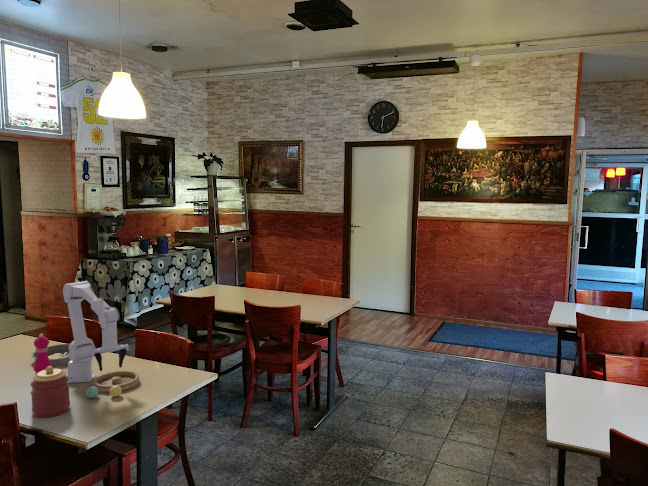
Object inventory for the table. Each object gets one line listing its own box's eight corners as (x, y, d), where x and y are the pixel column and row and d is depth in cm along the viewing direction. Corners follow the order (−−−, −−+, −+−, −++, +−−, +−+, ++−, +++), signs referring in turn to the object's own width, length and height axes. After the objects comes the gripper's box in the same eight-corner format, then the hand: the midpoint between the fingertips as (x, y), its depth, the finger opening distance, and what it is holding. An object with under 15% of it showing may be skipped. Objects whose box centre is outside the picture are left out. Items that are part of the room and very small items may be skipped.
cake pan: (20, 362, 242) (20, 353, 242) (67, 349, 264) (66, 340, 264) (52, 371, 231) (51, 362, 231) (97, 356, 253) (97, 348, 252)
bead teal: (85, 400, 199) (84, 389, 199) (88, 395, 204) (88, 385, 203) (97, 399, 200) (96, 388, 199) (100, 395, 204) (99, 384, 204)
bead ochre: (108, 399, 201) (108, 388, 200) (111, 394, 205) (111, 383, 205) (120, 398, 201) (120, 387, 201) (123, 393, 206) (122, 383, 205)
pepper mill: (55, 374, 227) (53, 331, 225) (45, 379, 220) (43, 336, 218) (41, 373, 228) (39, 331, 226) (30, 379, 221) (28, 335, 219)
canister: (61, 400, 199) (59, 358, 197) (76, 409, 190) (74, 365, 189) (26, 411, 189) (23, 366, 187) (40, 421, 180) (37, 375, 179)
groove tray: (87, 393, 206) (87, 387, 205) (100, 377, 224) (100, 371, 223) (133, 391, 208) (133, 385, 208) (142, 375, 227) (142, 369, 226)
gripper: (92, 342, 200) (93, 374, 201) (129, 337, 208) (130, 368, 209) (89, 338, 205) (90, 369, 207) (126, 332, 213) (127, 363, 215)
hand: (110, 368), depth 208 cm, fingers open, 7 cm apart
